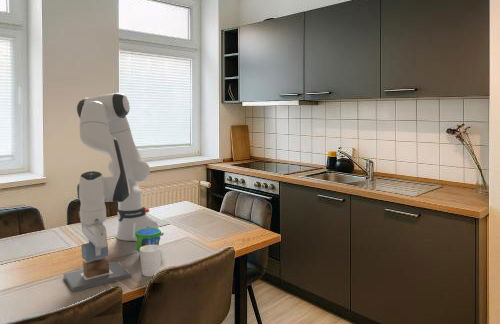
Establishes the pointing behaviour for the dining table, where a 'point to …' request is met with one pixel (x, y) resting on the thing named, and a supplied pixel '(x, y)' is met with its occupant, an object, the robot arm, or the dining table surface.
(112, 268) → the baseplate
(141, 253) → the white cup
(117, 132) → the robot arm
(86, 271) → the walnut brick
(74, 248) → the dining table surface
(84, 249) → the blue brick
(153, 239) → the snack cup
